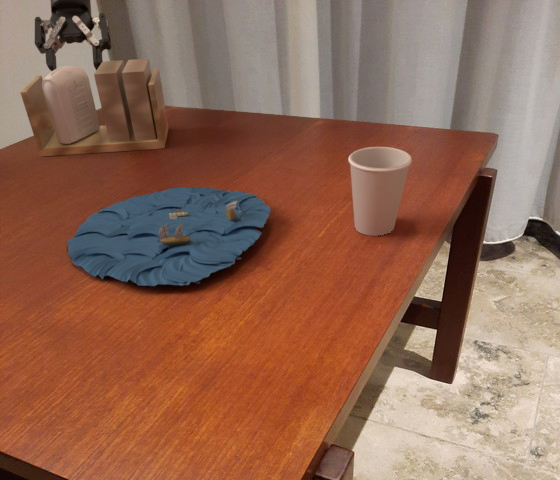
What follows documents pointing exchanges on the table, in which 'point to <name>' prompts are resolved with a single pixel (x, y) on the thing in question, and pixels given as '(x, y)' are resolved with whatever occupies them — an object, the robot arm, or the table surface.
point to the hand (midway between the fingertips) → (75, 69)
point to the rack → (108, 112)
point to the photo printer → (70, 103)
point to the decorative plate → (169, 235)
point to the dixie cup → (377, 187)
